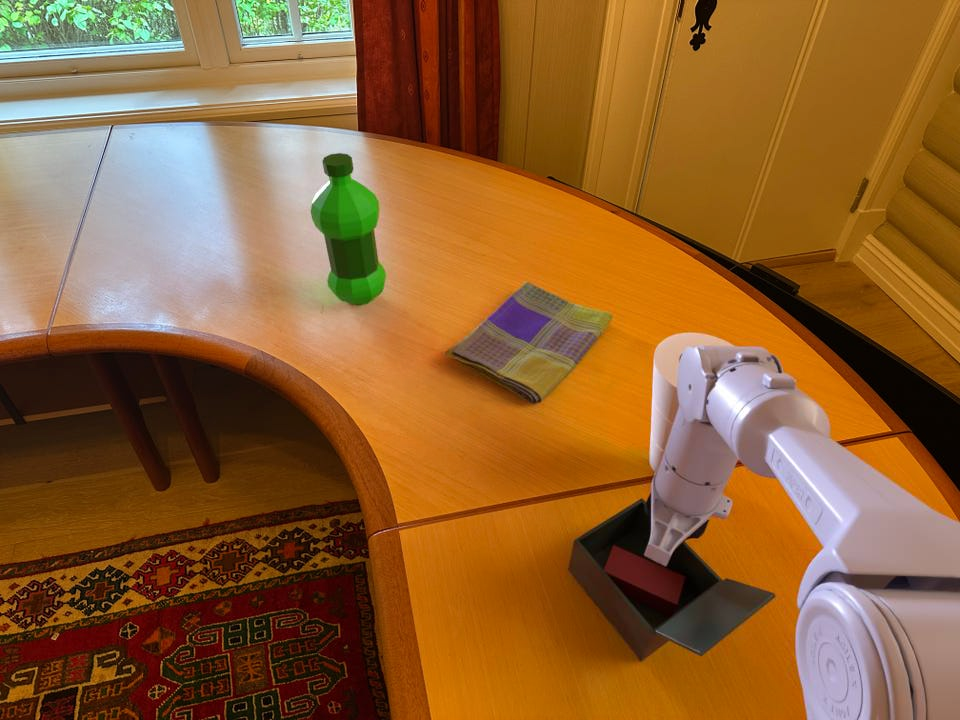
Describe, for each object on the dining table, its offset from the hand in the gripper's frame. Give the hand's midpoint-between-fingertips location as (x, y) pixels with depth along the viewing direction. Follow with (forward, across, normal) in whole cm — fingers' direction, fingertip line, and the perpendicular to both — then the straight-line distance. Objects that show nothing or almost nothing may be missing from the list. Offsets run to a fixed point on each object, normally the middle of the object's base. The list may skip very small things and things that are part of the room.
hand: (665, 541), depth 61 cm
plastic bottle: (+9, +24, +62) cm, 66 cm away
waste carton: (+9, -2, +1) cm, 9 cm away
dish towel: (+9, +29, +30) cm, 43 cm away
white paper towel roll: (+9, +17, +4) cm, 19 cm away
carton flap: (-1, -5, -6) cm, 8 cm away
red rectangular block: (+8, -1, +1) cm, 8 cm away
